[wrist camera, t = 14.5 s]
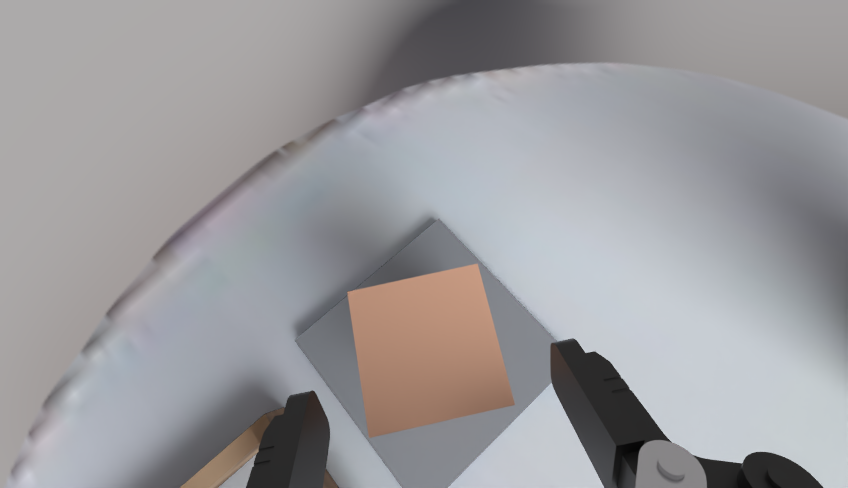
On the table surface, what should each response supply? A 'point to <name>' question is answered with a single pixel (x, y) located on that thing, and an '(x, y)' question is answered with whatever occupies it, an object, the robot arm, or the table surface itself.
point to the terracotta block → (427, 350)
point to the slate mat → (452, 439)
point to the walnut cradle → (238, 457)
